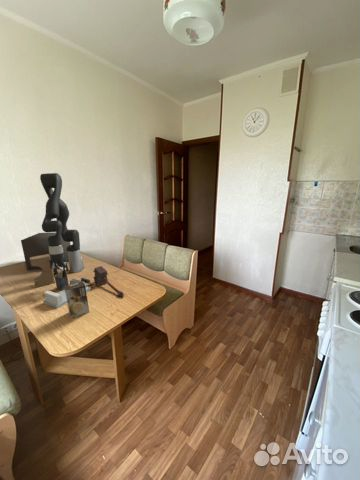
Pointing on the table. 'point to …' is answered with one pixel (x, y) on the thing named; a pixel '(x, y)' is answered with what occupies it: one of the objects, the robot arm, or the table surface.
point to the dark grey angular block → (40, 248)
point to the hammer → (104, 279)
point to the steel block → (61, 282)
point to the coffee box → (76, 299)
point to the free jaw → (80, 281)
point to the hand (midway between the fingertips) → (60, 276)
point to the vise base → (63, 296)
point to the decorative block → (43, 270)
